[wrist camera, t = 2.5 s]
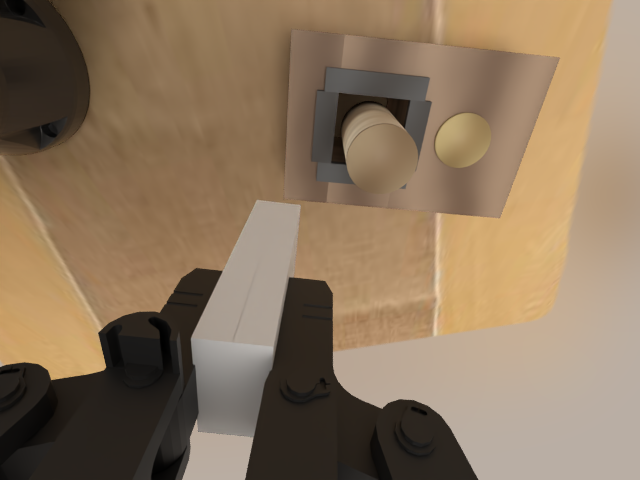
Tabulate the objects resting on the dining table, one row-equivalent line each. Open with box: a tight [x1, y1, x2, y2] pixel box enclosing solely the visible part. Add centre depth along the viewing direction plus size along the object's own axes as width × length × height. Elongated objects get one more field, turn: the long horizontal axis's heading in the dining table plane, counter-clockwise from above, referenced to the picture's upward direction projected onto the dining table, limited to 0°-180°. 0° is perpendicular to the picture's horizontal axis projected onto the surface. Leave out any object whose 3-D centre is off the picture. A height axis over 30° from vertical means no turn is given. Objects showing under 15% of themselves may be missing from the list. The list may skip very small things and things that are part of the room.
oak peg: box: [341, 101, 418, 194], centre depth 24 cm, size 4×4×8 cm
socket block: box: [284, 29, 560, 218], centre depth 30 cm, size 18×12×9 cm, turn 85°
